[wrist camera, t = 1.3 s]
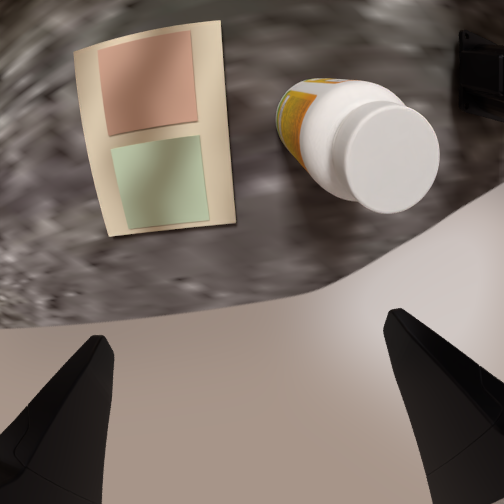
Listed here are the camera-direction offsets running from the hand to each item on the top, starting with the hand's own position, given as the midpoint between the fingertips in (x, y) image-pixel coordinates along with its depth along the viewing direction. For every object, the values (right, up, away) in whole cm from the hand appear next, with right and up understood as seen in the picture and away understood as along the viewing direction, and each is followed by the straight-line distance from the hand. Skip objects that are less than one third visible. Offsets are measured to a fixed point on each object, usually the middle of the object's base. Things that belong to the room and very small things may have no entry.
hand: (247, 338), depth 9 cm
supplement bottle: (+4, +11, +9) cm, 14 cm away
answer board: (-6, +10, +8) cm, 14 cm away
